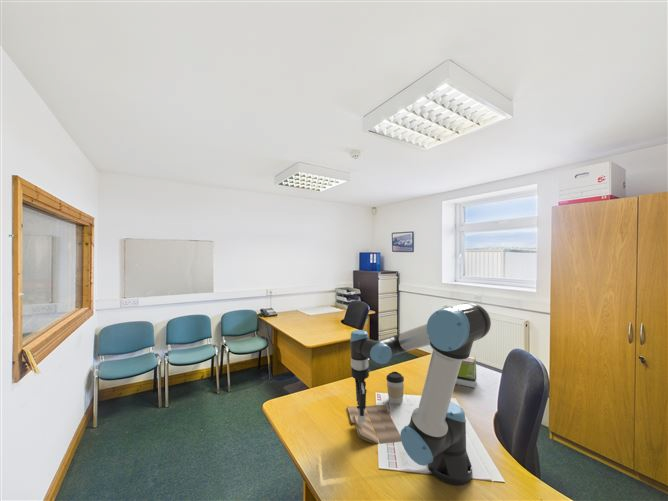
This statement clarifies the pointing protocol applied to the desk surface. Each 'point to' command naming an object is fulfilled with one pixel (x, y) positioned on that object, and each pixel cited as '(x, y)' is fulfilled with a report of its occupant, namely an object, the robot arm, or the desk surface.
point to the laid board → (383, 424)
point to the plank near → (365, 431)
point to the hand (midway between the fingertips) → (361, 421)
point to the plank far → (356, 414)
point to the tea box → (467, 372)
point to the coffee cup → (395, 387)
